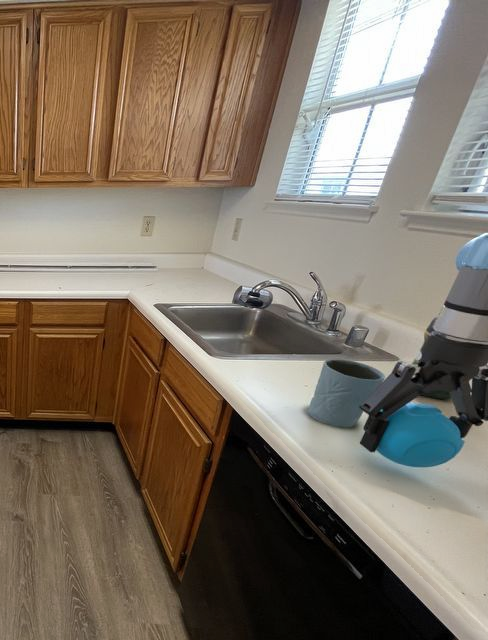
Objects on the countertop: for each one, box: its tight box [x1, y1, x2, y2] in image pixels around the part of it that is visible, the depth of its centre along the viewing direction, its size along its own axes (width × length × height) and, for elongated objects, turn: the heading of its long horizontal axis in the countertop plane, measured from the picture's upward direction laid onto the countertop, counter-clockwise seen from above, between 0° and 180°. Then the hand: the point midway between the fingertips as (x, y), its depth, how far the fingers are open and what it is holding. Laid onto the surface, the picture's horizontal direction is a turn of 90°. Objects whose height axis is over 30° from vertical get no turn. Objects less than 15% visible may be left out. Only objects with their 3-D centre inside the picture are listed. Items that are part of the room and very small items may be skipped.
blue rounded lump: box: [375, 402, 465, 468], centre depth 73 cm, size 12×11×12 cm
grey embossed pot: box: [307, 358, 386, 428], centre depth 89 cm, size 10×10×12 cm
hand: (404, 449), depth 75 cm, fingers closed on blue rounded lump, 12 cm apart
